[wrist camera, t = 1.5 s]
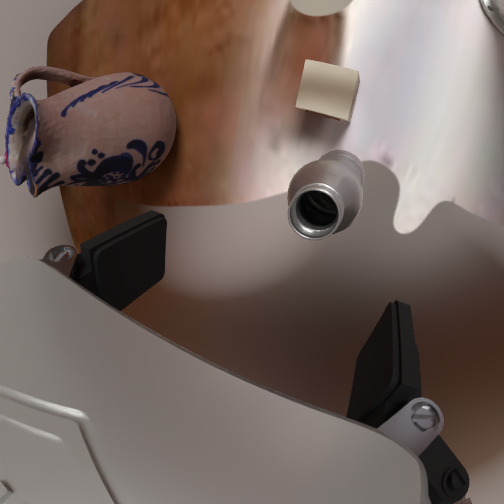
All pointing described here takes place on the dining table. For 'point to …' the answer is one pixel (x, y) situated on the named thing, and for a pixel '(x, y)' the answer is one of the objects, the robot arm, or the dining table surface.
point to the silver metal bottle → (326, 195)
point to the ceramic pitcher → (87, 130)
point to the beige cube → (328, 90)
